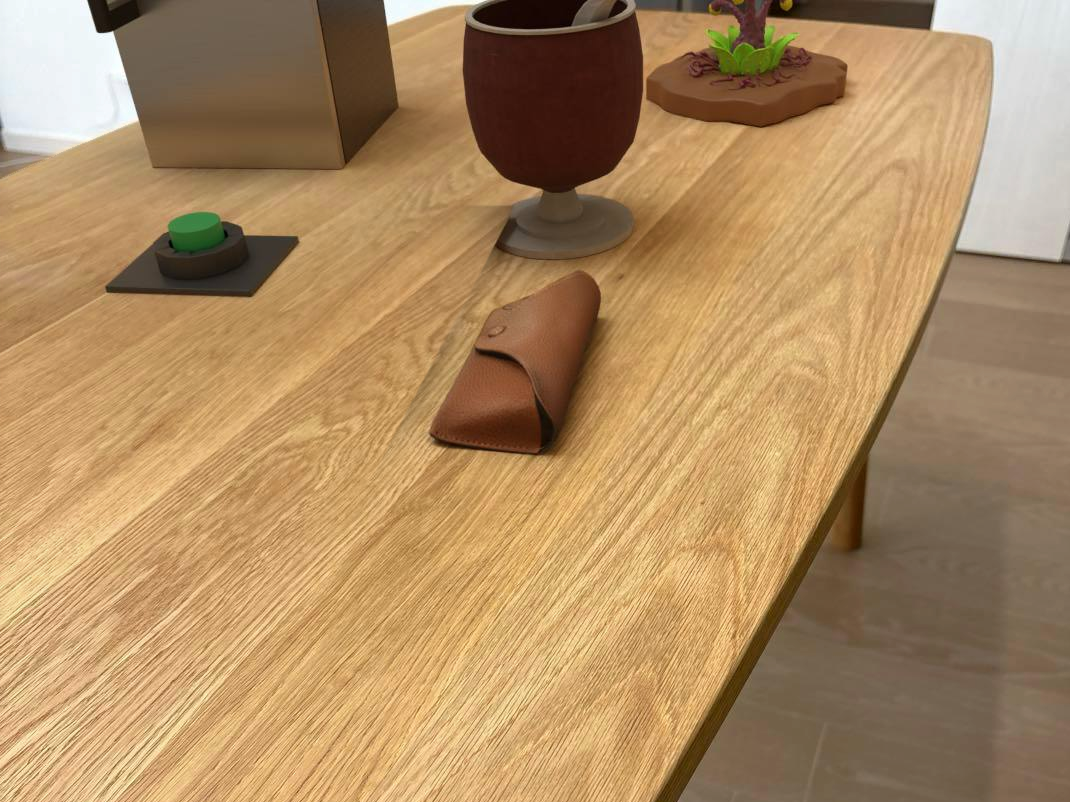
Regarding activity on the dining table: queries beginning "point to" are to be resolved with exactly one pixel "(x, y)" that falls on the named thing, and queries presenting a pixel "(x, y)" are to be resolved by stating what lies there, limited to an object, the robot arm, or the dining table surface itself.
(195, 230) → the button
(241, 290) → the panel
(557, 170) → the mate gourd
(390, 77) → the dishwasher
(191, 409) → the dining table surface
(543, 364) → the sunglasses case
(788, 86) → the plant
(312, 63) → the dishwasher door
